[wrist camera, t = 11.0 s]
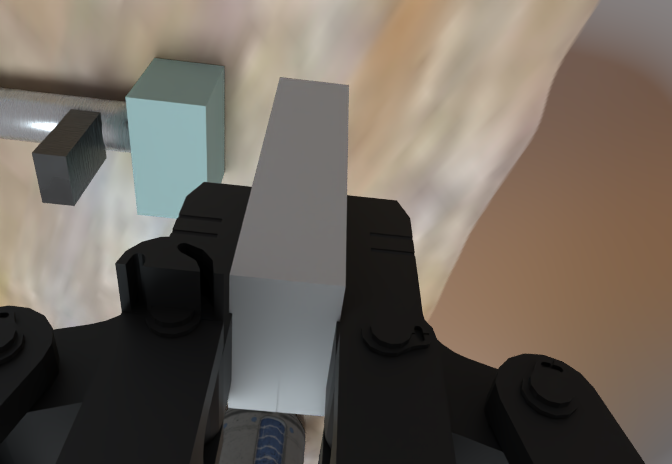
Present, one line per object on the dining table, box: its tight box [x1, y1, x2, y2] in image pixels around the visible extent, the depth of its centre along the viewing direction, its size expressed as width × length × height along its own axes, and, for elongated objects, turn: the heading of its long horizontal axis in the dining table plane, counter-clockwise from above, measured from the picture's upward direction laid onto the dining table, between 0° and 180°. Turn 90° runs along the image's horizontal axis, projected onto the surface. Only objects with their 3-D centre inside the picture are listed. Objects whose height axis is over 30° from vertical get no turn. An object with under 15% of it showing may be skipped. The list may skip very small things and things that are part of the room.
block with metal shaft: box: [0, 88, 131, 206], centre depth 41 cm, size 22×4×10 cm, turn 84°
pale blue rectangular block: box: [125, 58, 224, 219], centre depth 43 cm, size 5×9×7 cm, turn 174°
